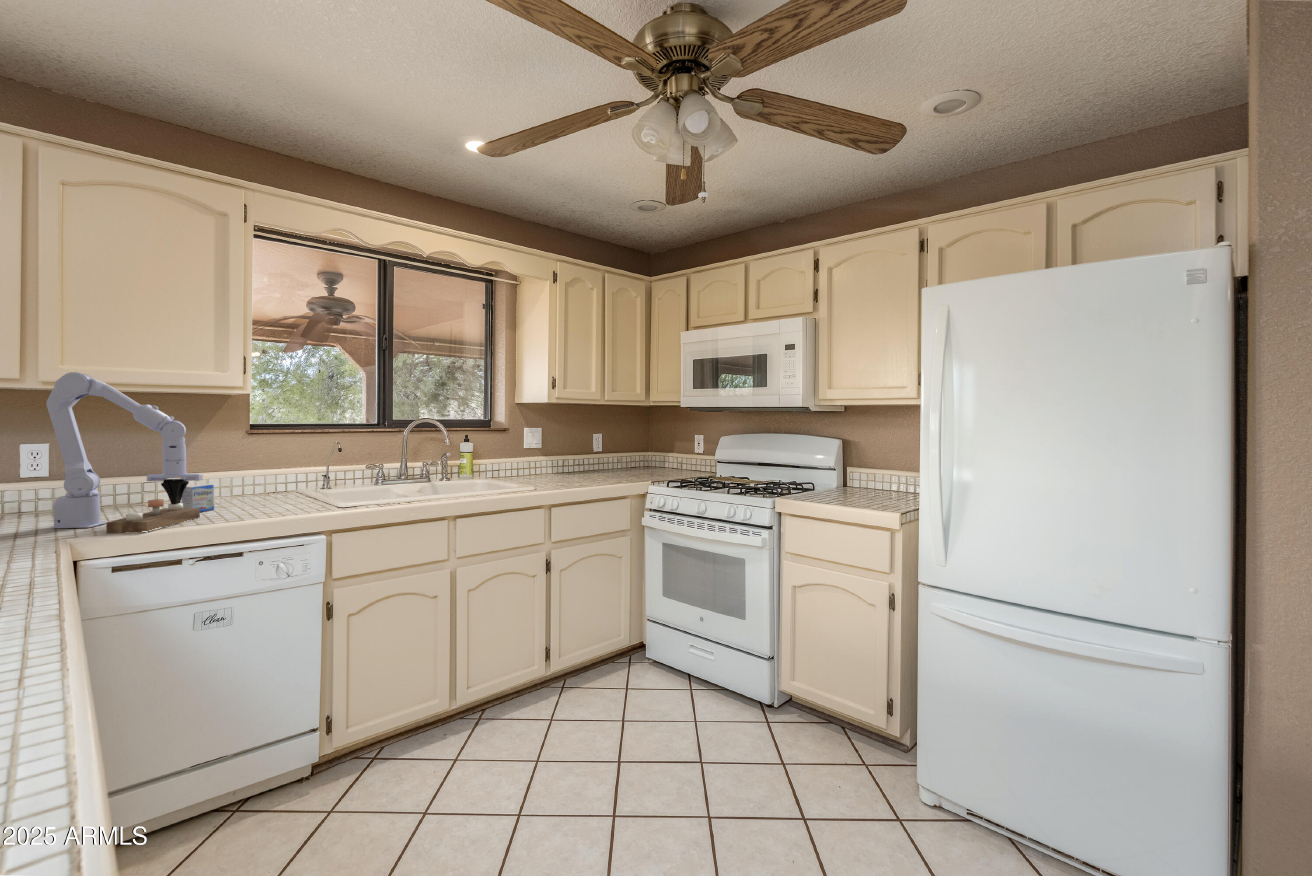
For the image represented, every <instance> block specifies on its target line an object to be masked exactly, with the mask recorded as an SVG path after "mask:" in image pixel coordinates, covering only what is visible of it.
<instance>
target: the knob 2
mask: <svg viewBox="0 0 1312 876" xmlns="http://www.w3.org/2000/svg"><path fill="white" fill-rule="evenodd" d="M167 508H168V510H169V511H175V510H183V503H182V502H180V504H171V503H168V504H167Z"/></svg>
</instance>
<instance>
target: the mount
mask: <svg viewBox="0 0 1312 876" xmlns="http://www.w3.org/2000/svg"><path fill="white" fill-rule="evenodd" d="M159 509H160V515H153V511H152V510H151V511H148V512H144V513H143V512H142V513H143V520H140V521H126V517H123V518H118V519H116V520H111V521H109V522H106V523H105V527H106V534H126V533H125V532H142V531H149V530H152V529H155V528H159V527H165V526H168V527H170V526H169V525H172V524H175V525H179V524H182V523H185V522H184V521H186V522H188V521H187V520H189V521H192V520H195V519H194V518H196V519H199V518H200V517H201V516H200V513H201V512H200V510H199V508H183V510H175V511H169V510H168V507H165V508H159ZM198 517H199V518H198ZM191 519H192V520H191ZM181 522H182V523H181ZM178 523H179V524H178ZM172 526H173V525H172ZM165 528H166V527H165Z"/></svg>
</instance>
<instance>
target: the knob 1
mask: <svg viewBox="0 0 1312 876" xmlns="http://www.w3.org/2000/svg"><path fill="white" fill-rule="evenodd" d="M125 518H126V521H140V520H143V512H130V513H125Z"/></svg>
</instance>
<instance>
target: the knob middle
mask: <svg viewBox="0 0 1312 876" xmlns="http://www.w3.org/2000/svg"><path fill="white" fill-rule="evenodd" d="M164 506H165V503H164V499H163V498H154V499H149V500H147V508H152V509H151V511H153V515H160V509H161V508H160V507H164Z"/></svg>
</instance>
